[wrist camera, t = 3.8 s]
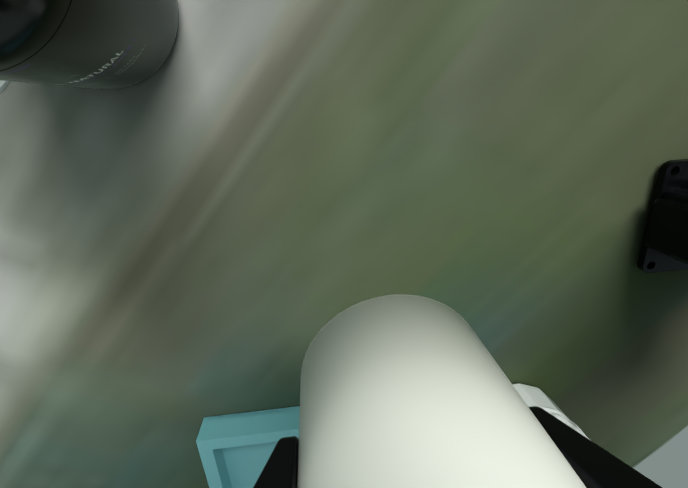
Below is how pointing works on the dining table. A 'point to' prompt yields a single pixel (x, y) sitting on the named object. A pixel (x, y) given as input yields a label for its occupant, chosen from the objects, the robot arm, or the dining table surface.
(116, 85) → the supplement bottle
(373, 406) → the spice jar
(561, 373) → the dining table surface
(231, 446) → the tray
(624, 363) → the dining table surface
